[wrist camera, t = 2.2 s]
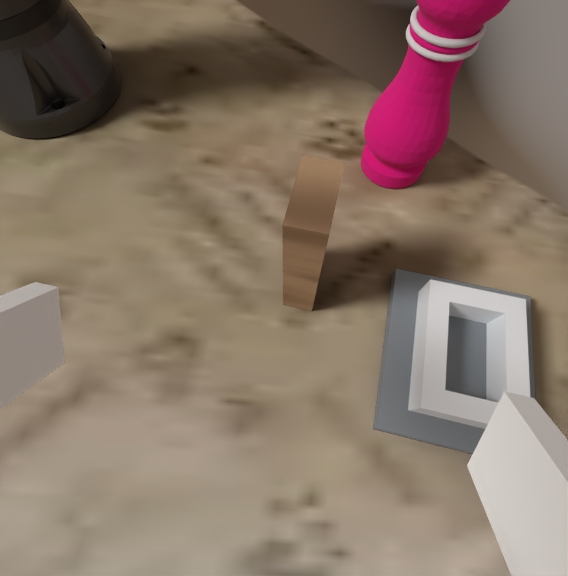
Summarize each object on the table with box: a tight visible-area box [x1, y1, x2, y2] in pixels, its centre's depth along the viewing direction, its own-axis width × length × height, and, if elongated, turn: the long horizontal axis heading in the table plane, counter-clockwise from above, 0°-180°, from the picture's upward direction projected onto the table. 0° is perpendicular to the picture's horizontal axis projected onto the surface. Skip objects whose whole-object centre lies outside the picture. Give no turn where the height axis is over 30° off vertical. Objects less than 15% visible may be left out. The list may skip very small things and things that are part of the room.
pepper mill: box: [361, 0, 510, 189], centre depth 26 cm, size 7×7×20 cm
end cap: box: [373, 269, 536, 454], centre depth 25 cm, size 13×11×4 cm
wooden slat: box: [283, 155, 345, 311], centre depth 24 cm, size 5×2×12 cm, turn 166°
